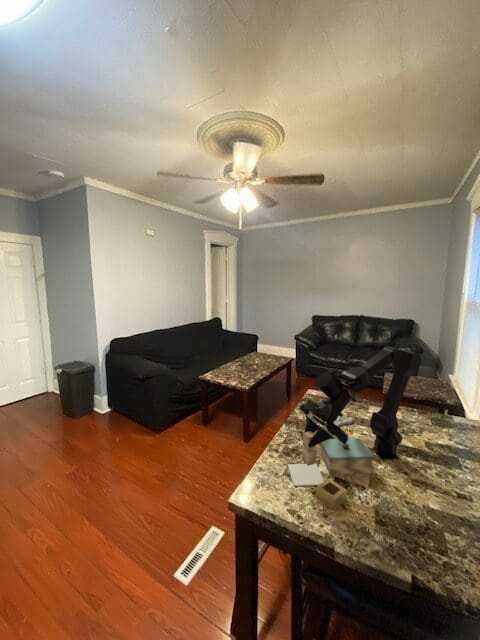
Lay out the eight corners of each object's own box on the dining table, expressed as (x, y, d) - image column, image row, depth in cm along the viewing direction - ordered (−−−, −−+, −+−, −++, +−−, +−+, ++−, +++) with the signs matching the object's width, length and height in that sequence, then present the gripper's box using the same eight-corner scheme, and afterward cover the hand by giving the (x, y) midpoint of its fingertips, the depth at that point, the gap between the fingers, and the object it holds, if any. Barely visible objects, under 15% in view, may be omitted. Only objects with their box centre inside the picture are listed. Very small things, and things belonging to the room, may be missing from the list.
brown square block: (310, 457, 91) (310, 430, 90) (315, 463, 89) (316, 435, 87) (302, 460, 90) (302, 432, 89) (307, 465, 88) (308, 437, 86)
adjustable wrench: (318, 441, 112) (318, 437, 112) (305, 434, 117) (305, 430, 117) (354, 422, 126) (354, 418, 126) (342, 416, 131) (342, 413, 131)
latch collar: (328, 486, 86) (328, 478, 86) (346, 499, 82) (346, 489, 81) (315, 496, 83) (316, 487, 82) (334, 509, 78) (334, 500, 77)
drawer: (358, 453, 102) (359, 435, 101) (373, 473, 92) (374, 453, 91) (319, 454, 102) (320, 436, 101) (329, 474, 92) (329, 454, 91)
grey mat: (316, 464, 97) (316, 463, 97) (325, 485, 87) (325, 484, 87) (287, 465, 97) (287, 464, 97) (293, 486, 87) (293, 485, 87)
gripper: (303, 380, 96) (275, 417, 94) (341, 402, 79) (308, 447, 77) (322, 398, 100) (295, 433, 98) (362, 422, 83) (330, 466, 81)
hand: (305, 443), depth 88 cm, fingers closed on brown square block, 3 cm apart
